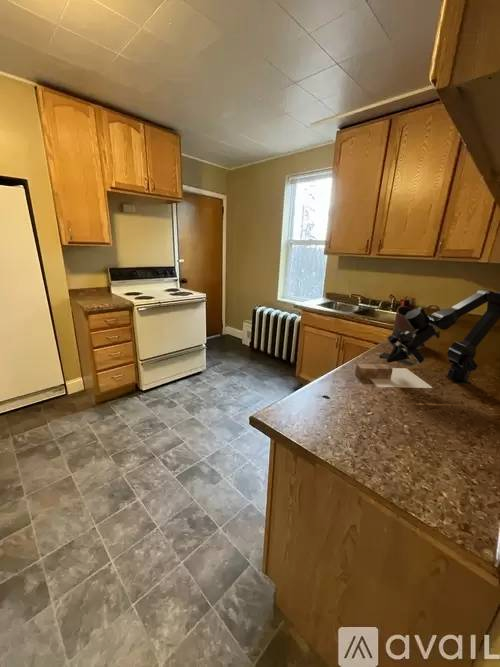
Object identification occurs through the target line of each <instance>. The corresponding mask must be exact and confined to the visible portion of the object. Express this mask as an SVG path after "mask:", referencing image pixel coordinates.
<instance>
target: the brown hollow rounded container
mask: <svg viewBox="0 0 500 667" xmlns="http://www.w3.org/2000/svg"><path fill="white" fill-rule="evenodd" d="M432 307H433V308H434V307H435V308H436V312H437V311H440V310H441V308H440V306H439V305H437V304H432V305H428V306H427V307H426V310H425V313H426V314H427V315H429V312H430V310H431V308H432ZM411 310H414V309H413V308H410V307H409V306H406V305H401V306H398V307H397V309H396V314H395V318H394V323H393V327H392V328H393V329H392V332H391V334H392V333H393V332H394V331H395V329H396V328H398V329H400V330H402V331H404V332H406V331H409V332H412V333H413V332H414V331H415V330H417V329H413V328H412V326H411V325H410V324H409V322H408V321H407V320H406V318H405V315H406V314H407V313H408V312H409V311H411ZM433 327H434V326H433ZM434 328H435V327H434ZM394 336H395V335H394ZM395 337H396V336H395ZM398 339H399V338H398ZM387 342H389V340H388V339H387ZM400 342H401V341H400ZM424 348H425V346H424V347H422V346H420V347H418V348H417V349H418V350H421V349H424Z"/></svg>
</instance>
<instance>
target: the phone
mask: <svg viewBox="0 0 500 667" xmlns="http://www.w3.org/2000/svg"><path fill="white" fill-rule="evenodd" d="M390 354H391V353H388V352H384V353H382V354H379V356H378V357H380V358H379V359H382V358H383V360H387V358H388V357H389V355H390ZM395 362H396V363H400V364H402V365H406V366H410V367H411V366H413V365H415V364H416V363H417V362H416V361H415V360H411V359H405V360H399V361H395Z"/></svg>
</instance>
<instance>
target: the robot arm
mask: <svg viewBox="0 0 500 667" xmlns="http://www.w3.org/2000/svg"><path fill="white" fill-rule="evenodd" d="M486 303H487V304H486ZM484 304H486V311H485V312H484V313H483V315H482V316H481V317H480V318H479V320H478V321H477V322H476V323H475V325H474V326H473V327H472V329H471V330H470V331H469V333H468V334H467V335H466V336H465V337H464V338H463V340H461V341H459V342H457V341H454V342H453V343H452V345H450V347H449V348H447V349H448V351H447V358H448V362H449V363H451V366H450V367H449V370H448V373H447V374H445V377H446V378H448V379H450V381H453V382H454V383H457V384H460V383H461V384H471V380H469V377H470V374H471V372H472V371H476V369H477V368H478V364H477V363H476V361H475V360H474V359H475V357H476V355H477V347H478V346H479V345H480V343H481V342H482V341H483V339H485V337H486V336H487V335H488V333H489V332H490V331H491V329H492V328H493V327H494V326H495V325H496V324H497V322H498V321H499V320H500V291H496V292H495V291H493V290H488V289H479V290H477V291H476V293H474V294H472V295H470V296H468V297H467V298H465V299H463V300H462V301H460V302H458V303H457V304H455V305H453V306H451V307H449V308H445V309H440V311H437V310H436V312H433V313H432V314H428V315H427V314H426V310H425V309H424V308H423V307H417V308H415V309H413V310H411V311H409V312H408V313H407V314H406V315H405V318H406V320H407V321H408V322H409V324H410V325H411V326H412V328H413V329H417V330H415V331H414V332H413V333H412V332H409V331H406V332H404V331H402V330H400V329H398V328H396V329H395V331H394V332H393V331H392V332H393V333H392V332H391V334H390V335H388V336H387V337H386V339H387V341H388V340H389V341H388V343H390V344H391V345H392V347H393V348H392V349H391V350H392V351H391V352H390V353H389V354H390V355H389V357H388V358H387V359H385V360H386V362H387V364H389V363H394V362H396V361H399V360H407V359H409V360H411V358H410V357H413V358H414V361H415V362H416V363H418V365H420V364H422V363H424V362H425V356H424V355H423V354H422V352H421V351H420V349H417V348H418V347H420V346H422V347H424V348H425V343H426V342H428V341H430V339H432V338H433V337H434V338H436V339H440V333H441V331H440V330H442V331H446V330H449V329H450V328H452V327H453V326H454V325H456V324H457V322H458V320H459V319H460V318H461V317H464V316H466V315H467V314H468V313H471V312H472V311H474V310H476V309H477V308H479V307H480V306H483V305H484ZM433 326H434V327H433ZM436 328H437V329H439V330H437V329H436ZM394 335H395V336H396V337H395V336H394ZM398 338H399V339H398ZM400 341H401V342H400Z"/></svg>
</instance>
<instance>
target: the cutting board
mask: <svg viewBox="0 0 500 667" xmlns="http://www.w3.org/2000/svg"><path fill="white" fill-rule="evenodd" d="M391 368H392V369H393V370H392V375H391V379H369V380H370V381H372V383H373V384H374V385H375V386H376V387H377V388H407V389H409V388H411V389H412V388H414V389H415V388H416V389H421V388H422V389H424V388H425V389H434V387H432V386H431V385H430V384H428V382H426V381H424V380H423V379H422V378H420V377H419V376H418V375H416V374H415V373H413V372H412V371H410V370H409V369H408V368H405V367H404V368H401V367H400V368H399V367H398V368H397V367H391Z"/></svg>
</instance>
